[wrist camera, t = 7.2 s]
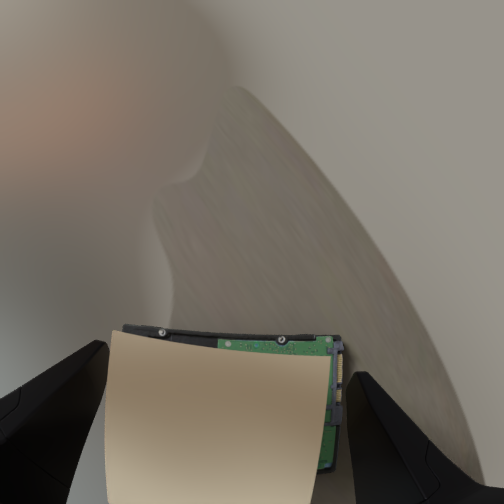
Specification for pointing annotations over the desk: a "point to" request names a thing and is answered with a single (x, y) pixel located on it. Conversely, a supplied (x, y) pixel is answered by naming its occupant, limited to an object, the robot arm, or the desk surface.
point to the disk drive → (276, 345)
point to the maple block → (211, 424)
